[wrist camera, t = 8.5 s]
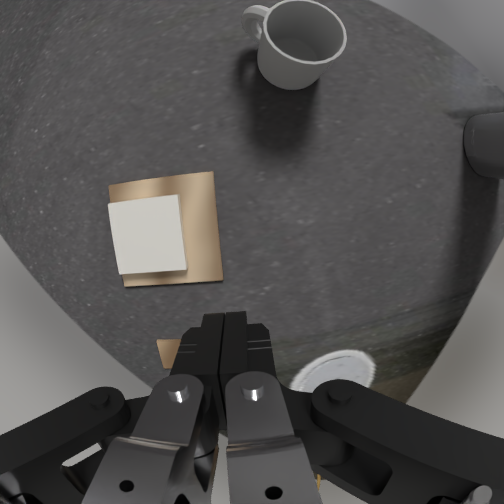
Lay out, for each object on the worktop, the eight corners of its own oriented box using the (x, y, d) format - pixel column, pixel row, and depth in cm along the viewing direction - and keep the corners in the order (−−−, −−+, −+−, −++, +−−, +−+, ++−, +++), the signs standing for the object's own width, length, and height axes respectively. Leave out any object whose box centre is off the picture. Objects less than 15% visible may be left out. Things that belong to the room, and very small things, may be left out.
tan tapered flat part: (258, 334, 36) (258, 338, 35) (260, 361, 37) (260, 367, 36) (157, 339, 35) (155, 344, 34) (164, 366, 37) (162, 371, 35)
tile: (177, 194, 29) (107, 204, 29) (186, 269, 31) (119, 274, 31) (180, 193, 30) (112, 202, 30) (188, 265, 32) (123, 270, 32)
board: (213, 171, 30) (213, 171, 30) (223, 278, 34) (223, 280, 33) (110, 185, 30) (108, 185, 30) (126, 284, 33) (124, 286, 33)
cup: (297, 103, 29) (318, 80, 20) (222, 55, 27) (218, 18, 18) (331, 61, 27) (360, 30, 19) (260, 15, 25) (267, -26, 17)
